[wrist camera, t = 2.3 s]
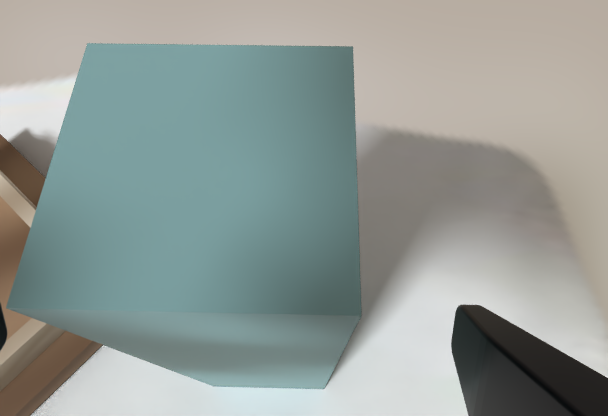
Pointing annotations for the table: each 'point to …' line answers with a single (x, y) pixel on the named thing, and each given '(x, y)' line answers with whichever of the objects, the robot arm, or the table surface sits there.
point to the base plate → (22, 329)
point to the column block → (204, 212)
